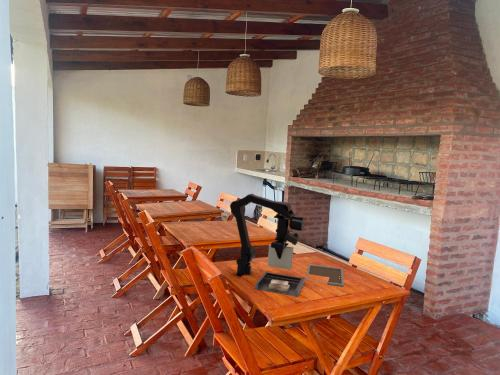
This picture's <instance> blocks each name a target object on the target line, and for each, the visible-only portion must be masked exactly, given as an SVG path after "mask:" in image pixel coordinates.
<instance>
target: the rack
mask: <svg viewBox="0 0 500 375" xmlns="http://www.w3.org/2000/svg"><path fill="white" fill-rule="evenodd" d="M271 280H279V281H287V282H288V285H290V287H289V290H288V291H287V292H286V291H281V290H275V289H269V285H270V283H271ZM305 281H306V276H302V277H300V276H293V275H288V274H280V273H276V272H275V273H274V272H269V271H268V270H265V271H264V272H263V274H262V275H261V276H260V277H259V279H258V280H257V281H256V282H255V286H254V290H255V291H256V290H257V291H262V292H268V293H274V294H279V295H285V296H288V297H289V296H291V297H295V298H298V297H299V295H300V293H301V291H302V289H303V287H304V285H305Z"/></svg>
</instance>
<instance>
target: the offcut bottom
mask: <svg viewBox="0 0 500 375" xmlns="http://www.w3.org/2000/svg"><path fill="white" fill-rule="evenodd" d="M270 284H271V283H270ZM289 287H290V285H288V287H287V288H284V287H276V286H270V285H269V289H275V290H281V291H286V292H287V291H288V290H289Z"/></svg>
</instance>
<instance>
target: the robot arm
mask: <svg viewBox="0 0 500 375" xmlns="http://www.w3.org/2000/svg"><path fill="white" fill-rule="evenodd" d="M251 203H252V204H255V205H257V206H261V207H264V208H267V209H269V210H270V209H271V211H273V212H275V213H276V215H274V216H273V219H277V224H276V229H275V233H276V237H275V238H274V241H273V242H271V243H270V244H271V248H275V251H276V253H277V256H278V259H281V256H282V252H283V249H284V248H286V246H287V247H288V245H289V243H291V244H292V245H294V246H296V245H297V244H298V242H299V241H300V236H299V234H298V233H297V232H294V233H291V232H290V229H291V230H295V231H301V232H304V229H305V225H306V224H305V219H304V218H305V216H298V215H297V216H296V215H295V213H294V211H293V209H292V205H291V204H290V202H287V201H277V200H273V199H269V198H265V197H263V196H259V195H255V194H254V193H249V194H247V195H245V196H244V197H242V198H240V199H236V200H232V202H230V204H229V208H230V209H229V210H230V211H231V214H232V216H233V217H234V218H235V221H236V225H237V226H236V227H237V231H238V236H239V239H240V240H239V241H240V244H241V245H240V246H241V247H240V257H238V258H236V260H235V262H236V265H237V267H236V268H237V270H236V273H235V276H237V277H238V276H240V277H244V276H246V275H249V276H250V275H251V274H252V265H251V264H252V263H251V262H252V261H253V260H254V259H255V258H256V256H257V255H256V254H257V251H256V245H255V244H254V245H252V242H251V241H250V240H251V239H250V236H249V235H250V234H249V231H248V226H247V221H246V217H245V214H246V206H247V205H249V204H251ZM288 242H289V243H288Z"/></svg>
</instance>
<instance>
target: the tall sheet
mask: <svg viewBox="0 0 500 375" xmlns="http://www.w3.org/2000/svg"><path fill="white" fill-rule="evenodd" d="M293 258H294V247H293V246H288V245H287V246H286V248H284V249H283V252H282V256H281V259H278V256H277V253H276V251H275V248H271V243H269V244H268V256H267V265H266V266H267V267H271V268H277V269H283V270H289V271H291V270H292V268H293V267H292V266H293V260H294V259H293Z"/></svg>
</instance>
